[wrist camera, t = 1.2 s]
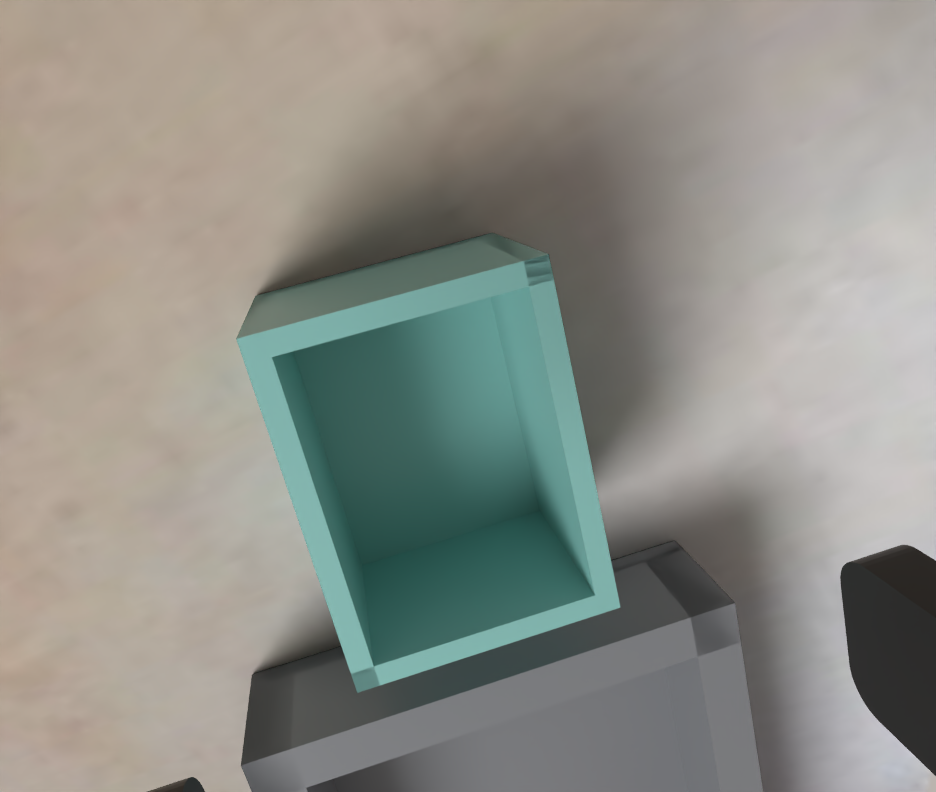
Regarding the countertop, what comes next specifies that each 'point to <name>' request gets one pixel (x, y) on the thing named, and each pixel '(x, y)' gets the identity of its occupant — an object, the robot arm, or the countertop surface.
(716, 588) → the large crate
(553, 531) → the small crate
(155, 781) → the countertop surface
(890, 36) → the countertop surface
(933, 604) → the robot arm
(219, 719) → the countertop surface
